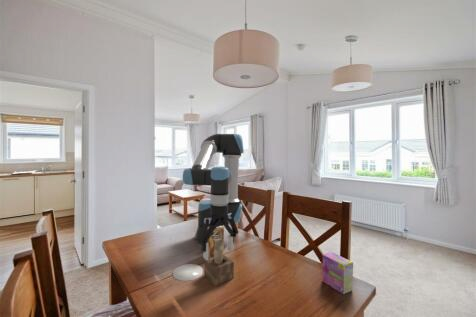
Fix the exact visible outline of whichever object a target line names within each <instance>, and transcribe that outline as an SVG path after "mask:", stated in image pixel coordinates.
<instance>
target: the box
mask: <svg viewBox="0 0 476 317" xmlns="http://www.w3.org/2000/svg"><path fill="white" fill-rule="evenodd" d="M321 274H322V276H321V277H322V278H321V280H322V282H323V283H325V284H326V285H328V286H329V285H330V286H329V287H331V288H332V289H334V290H336V291H337V292H339V293H340V294H342V295H346V294H347V293H350V292H352V291H353V278H354V262H353V261H352V260H350V259H347V258H345V257H343V256H341V255H339V254H336V253H334V252H332V251H329V252H325V253H324V254H322V273H321ZM345 293H346V294H345Z"/></svg>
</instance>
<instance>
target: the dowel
mask: <svg viewBox="0 0 476 317" xmlns="http://www.w3.org/2000/svg"><path fill="white" fill-rule="evenodd" d="M223 255H224V246H223V239H215V247H214V262H215V263H216V264H217V265H218V264H221V263H223Z"/></svg>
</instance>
